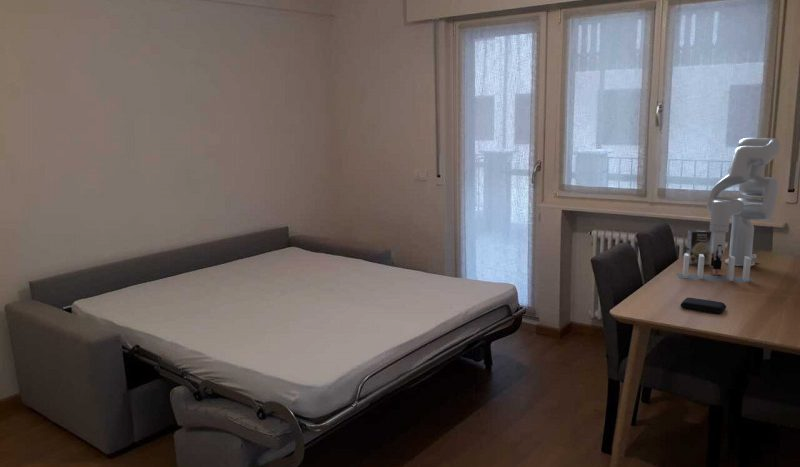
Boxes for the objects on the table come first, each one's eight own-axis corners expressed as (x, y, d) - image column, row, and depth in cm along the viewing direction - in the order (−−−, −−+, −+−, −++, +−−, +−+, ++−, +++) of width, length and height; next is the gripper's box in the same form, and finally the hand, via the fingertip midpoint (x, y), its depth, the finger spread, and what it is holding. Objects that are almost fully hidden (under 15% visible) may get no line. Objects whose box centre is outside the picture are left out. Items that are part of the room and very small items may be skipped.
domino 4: (744, 281, 266) (746, 258, 264) (742, 278, 271) (744, 256, 269) (748, 281, 266) (751, 259, 264) (746, 278, 270) (748, 256, 268)
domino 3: (729, 280, 268) (731, 258, 266) (727, 277, 273) (729, 255, 271) (733, 280, 268) (735, 258, 266) (731, 277, 272) (733, 255, 270)
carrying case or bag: (727, 308, 233) (685, 302, 242) (727, 301, 233) (685, 295, 241) (722, 316, 225) (679, 309, 233) (723, 308, 224) (679, 302, 233)
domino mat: (678, 279, 273) (678, 278, 273) (676, 274, 280) (676, 273, 280) (755, 283, 264) (755, 283, 264) (751, 279, 271) (751, 278, 271)
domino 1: (683, 277, 274) (685, 255, 272) (682, 274, 278) (684, 253, 276) (687, 278, 273) (689, 256, 271) (686, 275, 278) (688, 253, 276)
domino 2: (698, 278, 272) (700, 256, 270) (697, 275, 276) (698, 254, 274) (702, 278, 271) (704, 256, 269) (701, 276, 276) (702, 254, 274)
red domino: (714, 275, 277) (716, 254, 275) (712, 273, 282) (714, 251, 280) (718, 276, 277) (720, 254, 275) (716, 273, 281) (718, 251, 279)
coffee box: (689, 264, 297) (692, 231, 294) (684, 261, 304) (687, 229, 300) (709, 264, 297) (712, 232, 293) (704, 261, 303) (706, 229, 300)
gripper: (707, 224, 284) (703, 262, 288) (713, 231, 268) (709, 271, 272) (725, 224, 282) (721, 263, 285) (732, 231, 266) (728, 272, 270)
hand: (715, 267), depth 279 cm, fingers closed on red domino, 4 cm apart
